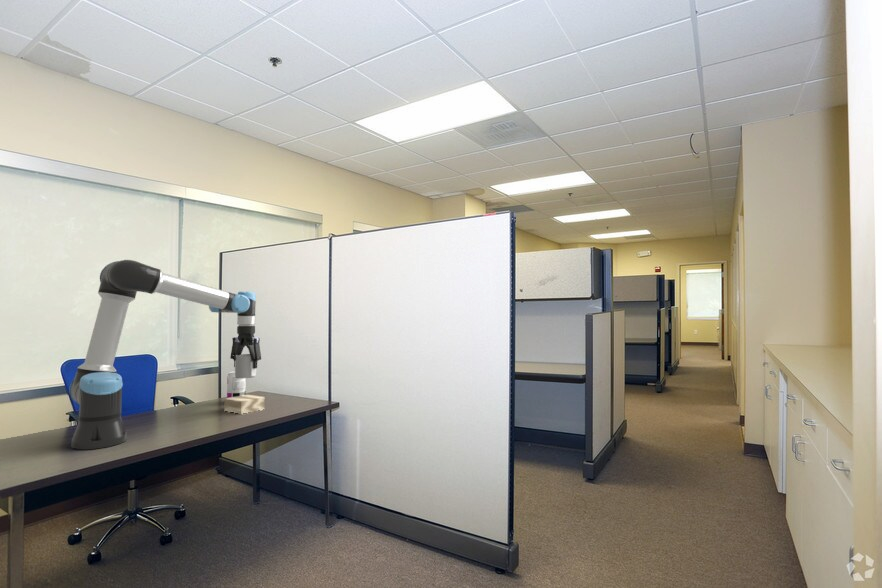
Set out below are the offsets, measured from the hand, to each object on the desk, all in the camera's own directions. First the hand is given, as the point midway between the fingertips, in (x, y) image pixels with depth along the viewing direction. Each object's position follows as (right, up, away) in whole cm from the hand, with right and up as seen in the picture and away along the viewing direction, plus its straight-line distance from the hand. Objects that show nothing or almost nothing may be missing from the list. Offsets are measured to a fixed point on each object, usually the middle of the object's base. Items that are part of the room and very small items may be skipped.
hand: (245, 375), depth 206 cm
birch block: (0, -16, -1) cm, 16 cm away
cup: (0, -1, 0) cm, 1 cm away
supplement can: (-11, -17, +15) cm, 25 cm away
